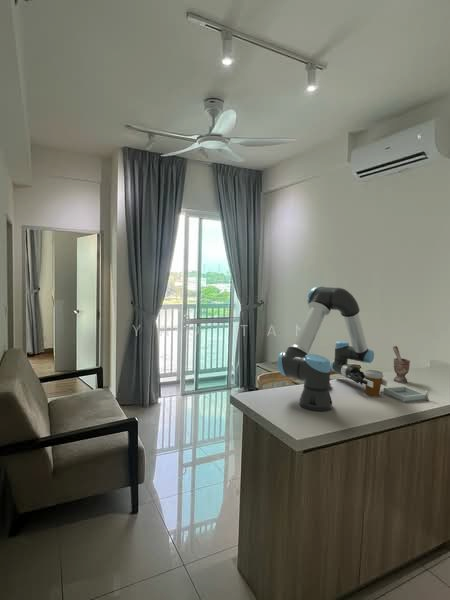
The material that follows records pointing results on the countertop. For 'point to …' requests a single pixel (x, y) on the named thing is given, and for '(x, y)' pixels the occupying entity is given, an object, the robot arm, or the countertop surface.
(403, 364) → the mortar and pestle
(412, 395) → the tray
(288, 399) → the countertop surface
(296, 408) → the countertop surface
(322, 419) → the countertop surface
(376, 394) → the disposable coffee cup
